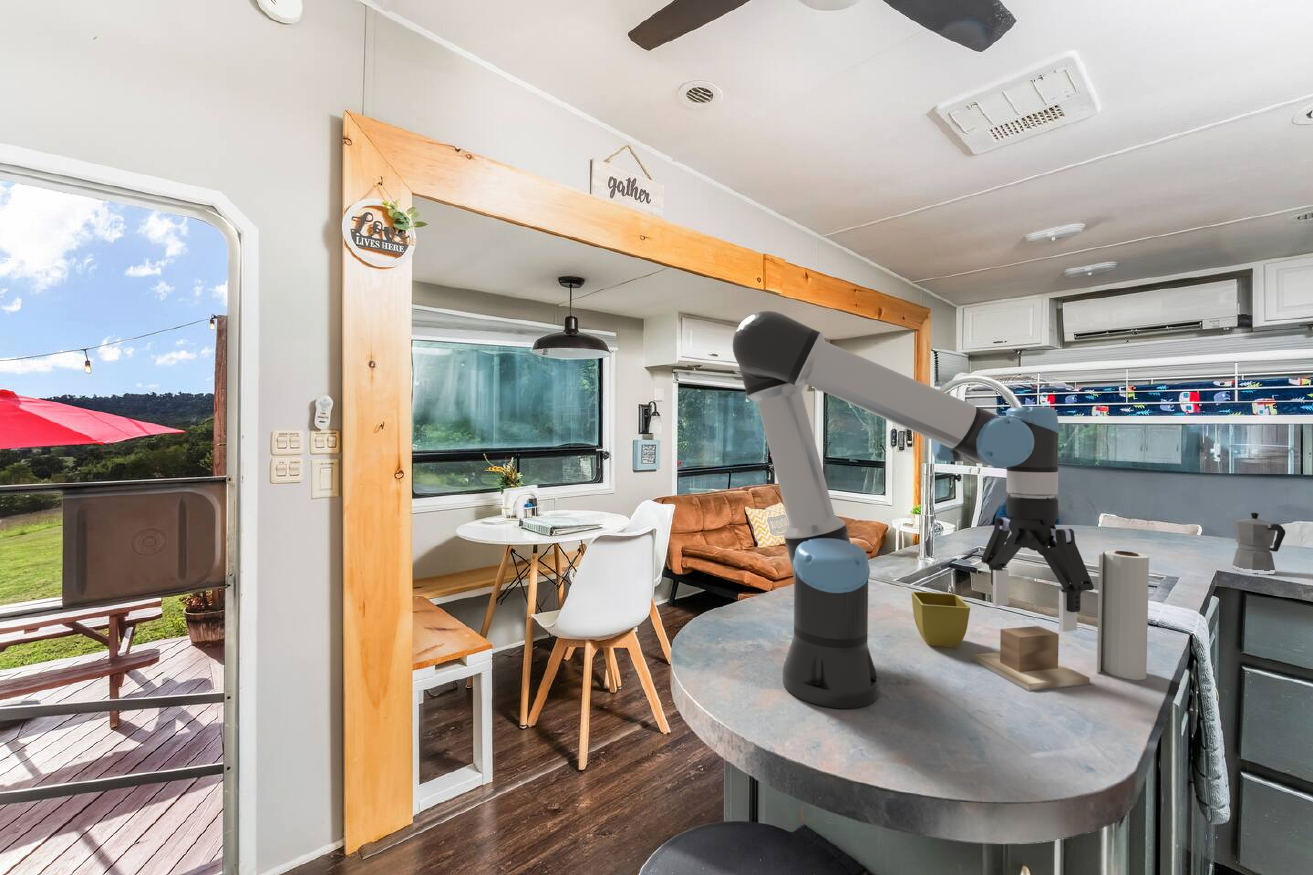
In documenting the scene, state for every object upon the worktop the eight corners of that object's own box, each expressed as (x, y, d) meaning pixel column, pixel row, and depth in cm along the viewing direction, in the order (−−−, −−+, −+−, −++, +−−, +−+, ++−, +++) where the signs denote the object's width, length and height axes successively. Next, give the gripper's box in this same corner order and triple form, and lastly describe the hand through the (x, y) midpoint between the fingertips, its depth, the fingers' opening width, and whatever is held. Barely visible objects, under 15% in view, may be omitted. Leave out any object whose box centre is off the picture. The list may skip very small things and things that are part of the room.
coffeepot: (1217, 565, 178) (1218, 509, 178) (1249, 566, 177) (1250, 509, 177) (1265, 578, 163) (1266, 516, 162) (1300, 579, 162) (1302, 517, 162)
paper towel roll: (1142, 671, 99) (1144, 551, 99) (1150, 685, 94) (1153, 558, 93) (1091, 662, 103) (1093, 546, 102) (1096, 675, 97) (1099, 553, 97)
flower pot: (970, 654, 106) (971, 607, 106) (921, 650, 108) (921, 604, 108) (955, 637, 115) (956, 593, 115) (910, 633, 117) (910, 591, 116)
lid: (1028, 689, 91) (1029, 647, 91) (973, 659, 103) (973, 621, 102) (1089, 683, 93) (1090, 641, 93) (1028, 654, 105) (1028, 617, 105)
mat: (1028, 694, 90) (1029, 691, 90) (968, 661, 103) (968, 658, 103) (1094, 687, 93) (1094, 684, 93) (1028, 655, 106) (1028, 653, 106)
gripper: (1122, 503, 86) (1122, 640, 86) (993, 487, 110) (993, 594, 111) (1081, 505, 84) (1081, 645, 85) (960, 488, 109) (960, 597, 109)
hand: (1032, 616), depth 98 cm, fingers open, 13 cm apart
